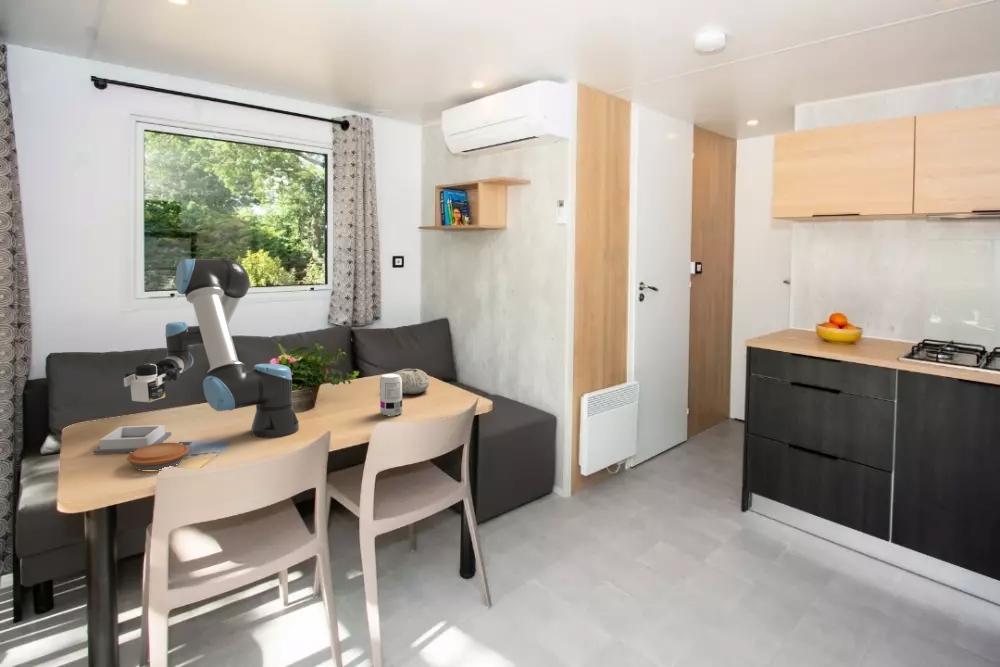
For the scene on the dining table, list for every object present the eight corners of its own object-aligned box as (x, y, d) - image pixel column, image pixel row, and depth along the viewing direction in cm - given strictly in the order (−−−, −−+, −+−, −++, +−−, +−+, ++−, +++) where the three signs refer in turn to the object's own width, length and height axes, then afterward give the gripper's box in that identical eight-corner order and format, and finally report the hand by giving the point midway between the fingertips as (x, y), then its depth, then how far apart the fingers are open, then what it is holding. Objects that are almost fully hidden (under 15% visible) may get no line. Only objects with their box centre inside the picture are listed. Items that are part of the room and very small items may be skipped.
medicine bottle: (149, 402, 191) (146, 367, 189) (131, 401, 193) (128, 366, 191) (165, 397, 198) (163, 363, 196) (148, 395, 200) (145, 362, 198)
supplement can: (376, 415, 217) (375, 376, 215) (388, 409, 225) (387, 372, 222) (394, 417, 214) (394, 378, 212) (406, 412, 222) (405, 374, 219)
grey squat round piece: (422, 398, 241) (422, 375, 240) (382, 396, 245) (381, 373, 243) (434, 388, 259) (434, 367, 257) (397, 386, 262) (396, 365, 260)
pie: (116, 467, 164) (115, 450, 163) (171, 451, 177) (170, 436, 176) (145, 479, 156) (144, 462, 155) (200, 461, 169) (199, 445, 168)
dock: (171, 435, 192) (170, 423, 191) (150, 451, 176) (149, 439, 175) (118, 437, 189) (117, 425, 188) (93, 454, 173) (92, 441, 173)
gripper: (200, 377, 214) (177, 392, 192) (137, 378, 211) (106, 394, 189) (199, 357, 213) (175, 370, 191) (136, 358, 210) (104, 371, 188)
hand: (141, 382), depth 190 cm, fingers closed on medicine bottle, 9 cm apart
